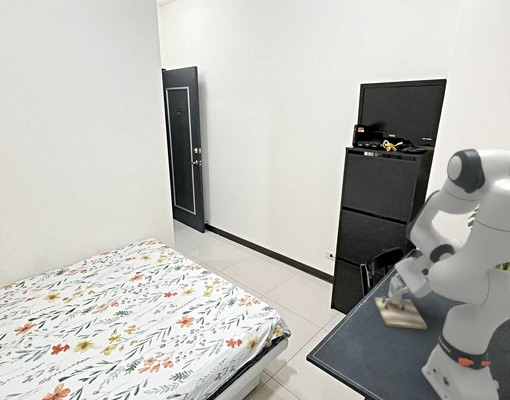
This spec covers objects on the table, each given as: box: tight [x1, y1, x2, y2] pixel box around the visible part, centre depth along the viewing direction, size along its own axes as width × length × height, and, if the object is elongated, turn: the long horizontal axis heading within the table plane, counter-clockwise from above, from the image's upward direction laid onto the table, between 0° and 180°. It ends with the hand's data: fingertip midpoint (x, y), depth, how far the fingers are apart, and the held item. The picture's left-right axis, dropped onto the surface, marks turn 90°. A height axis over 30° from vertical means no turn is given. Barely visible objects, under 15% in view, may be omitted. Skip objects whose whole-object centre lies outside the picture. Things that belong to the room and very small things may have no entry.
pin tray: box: [373, 295, 428, 330], centre depth 119 cm, size 16×15×4 cm
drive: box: [387, 276, 405, 304], centre depth 120 cm, size 6×3×9 cm, turn 175°
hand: (394, 287), depth 119 cm, fingers closed on drive, 5 cm apart
